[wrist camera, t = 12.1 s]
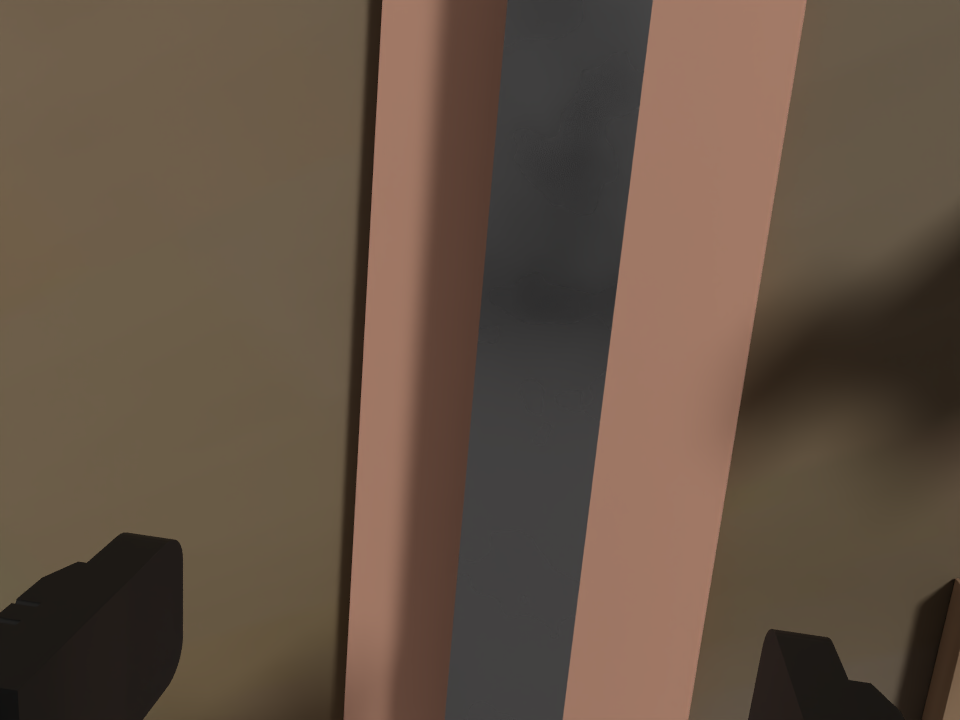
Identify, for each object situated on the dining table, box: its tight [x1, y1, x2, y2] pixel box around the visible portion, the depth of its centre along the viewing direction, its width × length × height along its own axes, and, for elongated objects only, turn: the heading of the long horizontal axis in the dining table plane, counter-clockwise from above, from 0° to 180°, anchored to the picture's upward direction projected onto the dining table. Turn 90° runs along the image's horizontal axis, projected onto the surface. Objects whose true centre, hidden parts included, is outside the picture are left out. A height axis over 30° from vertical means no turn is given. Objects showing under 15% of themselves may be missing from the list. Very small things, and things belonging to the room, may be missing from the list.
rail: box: [445, 0, 653, 720], centre depth 23 cm, size 3×24×3 cm, turn 175°
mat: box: [344, 0, 807, 720], centre depth 25 cm, size 10×28×1 cm, turn 175°
